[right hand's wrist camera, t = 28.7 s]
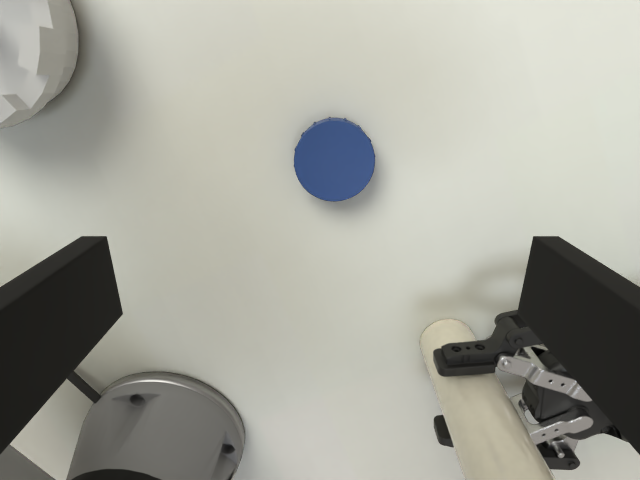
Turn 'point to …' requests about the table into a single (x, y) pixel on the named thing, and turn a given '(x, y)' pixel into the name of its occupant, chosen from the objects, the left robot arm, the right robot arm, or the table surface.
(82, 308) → the right robot arm
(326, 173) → the lid
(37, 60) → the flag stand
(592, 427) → the left robot arm
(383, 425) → the table surface
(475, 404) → the tube
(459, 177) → the table surface
